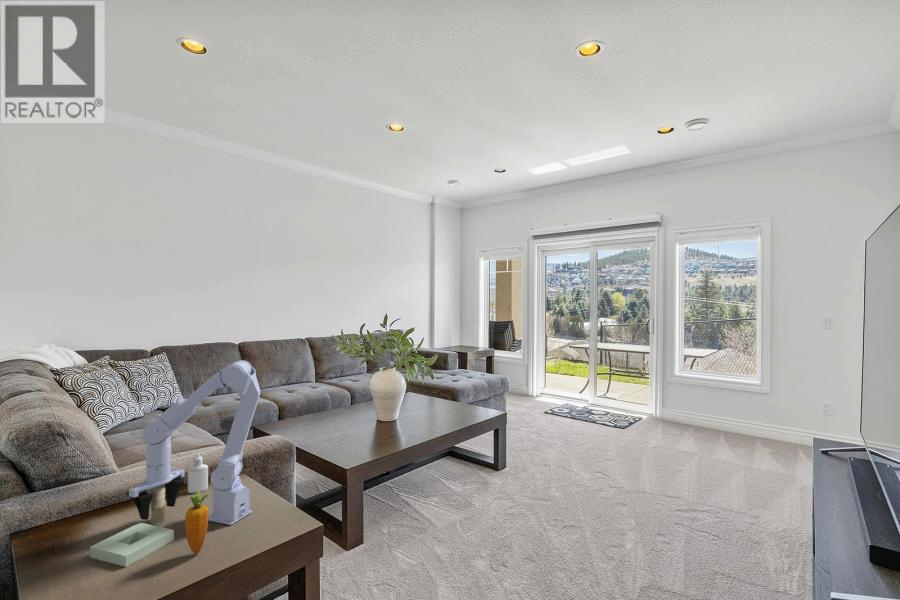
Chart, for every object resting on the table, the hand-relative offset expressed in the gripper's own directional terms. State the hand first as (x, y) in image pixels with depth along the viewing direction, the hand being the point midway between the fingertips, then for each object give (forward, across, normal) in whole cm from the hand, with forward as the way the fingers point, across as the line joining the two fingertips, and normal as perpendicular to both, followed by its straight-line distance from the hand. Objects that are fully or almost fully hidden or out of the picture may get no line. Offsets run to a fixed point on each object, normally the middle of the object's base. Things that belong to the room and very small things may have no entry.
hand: (158, 512), depth 119 cm
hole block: (+3, +11, +6) cm, 13 cm away
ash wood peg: (+3, 0, 0) cm, 3 cm away
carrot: (+3, +8, +23) cm, 25 cm away
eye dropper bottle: (+3, -19, -7) cm, 20 cm away
